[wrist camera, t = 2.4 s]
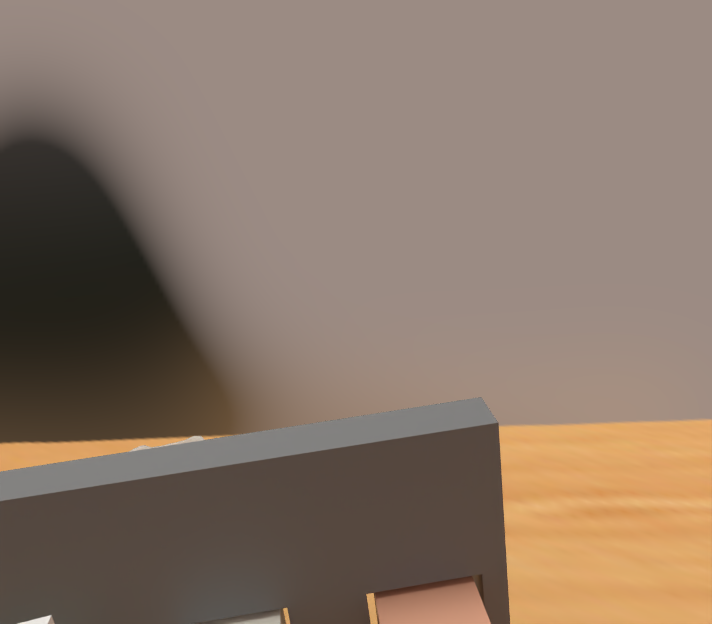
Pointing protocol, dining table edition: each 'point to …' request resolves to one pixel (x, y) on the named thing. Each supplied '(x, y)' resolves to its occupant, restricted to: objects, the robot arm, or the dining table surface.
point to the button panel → (260, 523)
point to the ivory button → (253, 618)
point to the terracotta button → (432, 604)
